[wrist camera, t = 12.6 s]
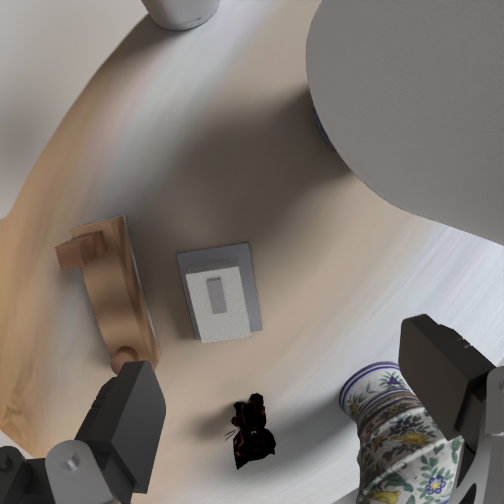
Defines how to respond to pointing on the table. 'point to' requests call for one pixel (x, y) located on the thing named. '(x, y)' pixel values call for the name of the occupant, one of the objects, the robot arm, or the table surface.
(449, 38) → the lamp
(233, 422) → the cat figurine
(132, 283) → the plane body
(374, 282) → the table surface
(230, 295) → the lever cap
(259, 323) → the felt mat
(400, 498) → the vase
